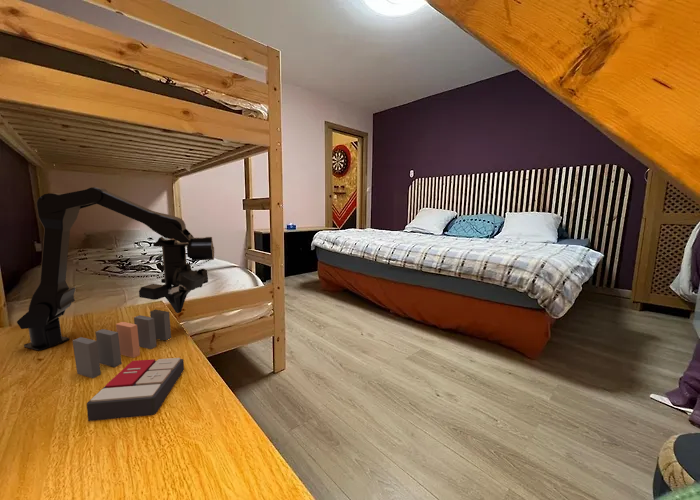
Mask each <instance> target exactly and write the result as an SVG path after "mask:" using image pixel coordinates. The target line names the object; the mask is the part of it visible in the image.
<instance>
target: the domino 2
mask: <svg viewBox="0 0 700 500" xmlns="http://www.w3.org/2000/svg"><path fill="white" fill-rule="evenodd" d="M95 339H96V340H95V341H97V348H98V356H99V363H100V365H104V366H109V367H111V368H116V367H119V366H121V365H122V356H121V354H120V345H119V336H118V332H117V331H114V330H109V329H104V328H102V329H99V330H96V331H95Z"/></svg>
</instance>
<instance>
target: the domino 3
mask: <svg viewBox="0 0 700 500" xmlns="http://www.w3.org/2000/svg"><path fill="white" fill-rule="evenodd" d="M115 328H116V332H118V336H119V345H120V354H121V355H122V356H124V357H125V356H126V357H130V358H137V357H138V356H140V355H141V351H140V349H141V348H140V347H139V339H138V329H137V325H136V324H134V323H131V322H125V321H121V322H117V323H115Z"/></svg>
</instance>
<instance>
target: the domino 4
mask: <svg viewBox="0 0 700 500" xmlns="http://www.w3.org/2000/svg"><path fill="white" fill-rule="evenodd" d="M133 321H134V322H133V324H136V325H137V329H138V339H139V348H143V349H149V350H152V349H155V348H157V339H156V335H155V323H154V318H152V317H151V316H145V315H141V314H140V315H136V316H134V317H133Z"/></svg>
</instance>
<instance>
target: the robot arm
mask: <svg viewBox="0 0 700 500" xmlns="http://www.w3.org/2000/svg"><path fill="white" fill-rule="evenodd" d="M95 205H98V206H101V207H103V208H106V209H109V210H110V211H112V212H116V213H117V214H120V215H123V216H125V217H127V218H130V219H132V220H135V221H136V222H140V223H142V224H143V225H145V226H146V227H148V229H149V228H150V229H151V230H152V231H153V232H155V233H156V234H158V235H160V237H158V239H157V240H156V241H155V242H154V243H153V244H152V246H153V247H162V251H161V252H162V263H163V264H159V267H160V268H159V269H160V270H163V274H164V278H161V279H160V280H161V281H160V283H162V284H157V283H151V284H148V285H144V286H141V287H140V288H139V289H138V297H139V298H141V299H147V300H152V301H153V300H154V301H155V300H160V299H163V298H165V299H166V300H167V301H168V302H169V304H170V306H171V307H172V308H173V310H174V312H175V313H176V314H180V313H181V312H182V310H183V307H184V304H185V301H186V298H187V296H188V294H189V293H191V292H192V291H195V290H196V289H199V288H202V287H203V285H204V284H206V283H209V277H208V271H207V269H205V268H199V269H198V270H197V269H195V270H192V267H191V264H190V263H188V262H187V257H188V258H189V259H191V260H192V261H213V260H214V259H215V246H214V243H213V237H212V236H205V237H194V235H193V234H192V233H191V232H190V231H189V230H188V229H187V228H186V223H185V221H184V220H183V219H182V218H180V217H178V216H174V215H170V214H166V213H164V212H157V211H154V210H151V209H149V208H147V207H144V206H143V205H140V204H138V203H135V202H133V201H131V200H129V199H126V198H124V197H122V196H119V195H117V194H115V193H112V192H111V191H108V190H107V189H106V188H103V187H97V186H96V187H95V186H94V187H89V188H87V189H86V188H85V189H82V190H77V191H70V192H66V193H55V192H53V193H50V192H49V193H44V194H42V195H41V196H39V197H37V199H36V205H35V206H36V210H37V217H38V219H39V221H40V223H41V224H42V227H43V241H42V251H41V252H42V253H41V267H40V279H39V284H38V286H37V287H36V289H35V291H34V293H33V294H32V296H31V299H30V302H29V305H28V311H26V313H25V314H23V315H22V317H20V318H19V319H18V320H17V321H16V324H17V325H18V326H19V328H20V330H26V329H28V333H29V339H30V342H28V343H24V344H23V346H24V348H28V349H31V350H35V351H38V352H39V351H40V352H41V351H42V350H45V349H48V348H52V347H54V346H57V345H58V344H62V343H65V342H67V341H70V337H66V336H63V335H62V330H61V322H60V317H61V316H64V315H65V313H66V310H67V309H68V308H70V307H71V305H72V303H73V302H74V303H75V301H76V299H75V292H76V287H75V286H73V287H69V286H68V284H67V282H66V279H67V269H68V268H67V267H68V257H69V256H68V255H69V248H70V247H69V245H70V235H71V234H70V233H71V229H72V227H73V226H74V224H75V222H76V221H77V219H78V217H79V213H80V210H81V209H84V208H89V207H91V206H95Z"/></svg>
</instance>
